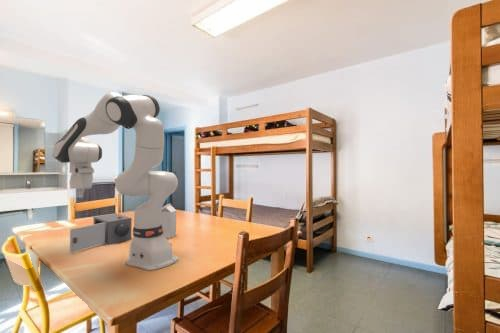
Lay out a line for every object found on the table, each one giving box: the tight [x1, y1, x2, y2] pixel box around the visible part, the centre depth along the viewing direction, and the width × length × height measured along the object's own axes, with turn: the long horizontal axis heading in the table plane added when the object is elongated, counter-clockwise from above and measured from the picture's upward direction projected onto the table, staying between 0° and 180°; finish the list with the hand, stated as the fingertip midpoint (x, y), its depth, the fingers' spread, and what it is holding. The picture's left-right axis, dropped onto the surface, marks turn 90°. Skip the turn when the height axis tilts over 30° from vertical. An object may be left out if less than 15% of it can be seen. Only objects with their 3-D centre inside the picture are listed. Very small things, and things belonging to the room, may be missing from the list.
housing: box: [92, 213, 133, 246], centre depth 132 cm, size 22×12×13 cm, turn 52°
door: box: [69, 222, 107, 253], centre depth 115 cm, size 16×2×11 cm, turn 153°
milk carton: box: [161, 203, 177, 239], centre depth 137 cm, size 7×7×19 cm
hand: (80, 197), depth 116 cm, fingers closed
